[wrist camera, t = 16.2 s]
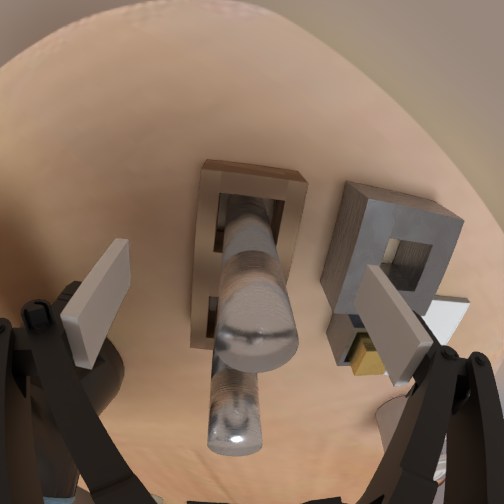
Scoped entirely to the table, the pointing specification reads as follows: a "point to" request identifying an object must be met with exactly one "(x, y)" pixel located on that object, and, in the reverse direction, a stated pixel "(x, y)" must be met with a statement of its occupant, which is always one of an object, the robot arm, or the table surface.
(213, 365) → the test tube
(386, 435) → the coffee cup
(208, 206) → the rack
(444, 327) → the external hard drive
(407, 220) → the block
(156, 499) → the can
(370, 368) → the yellow piece
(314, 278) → the table surface
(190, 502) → the dark grey ribbed block
